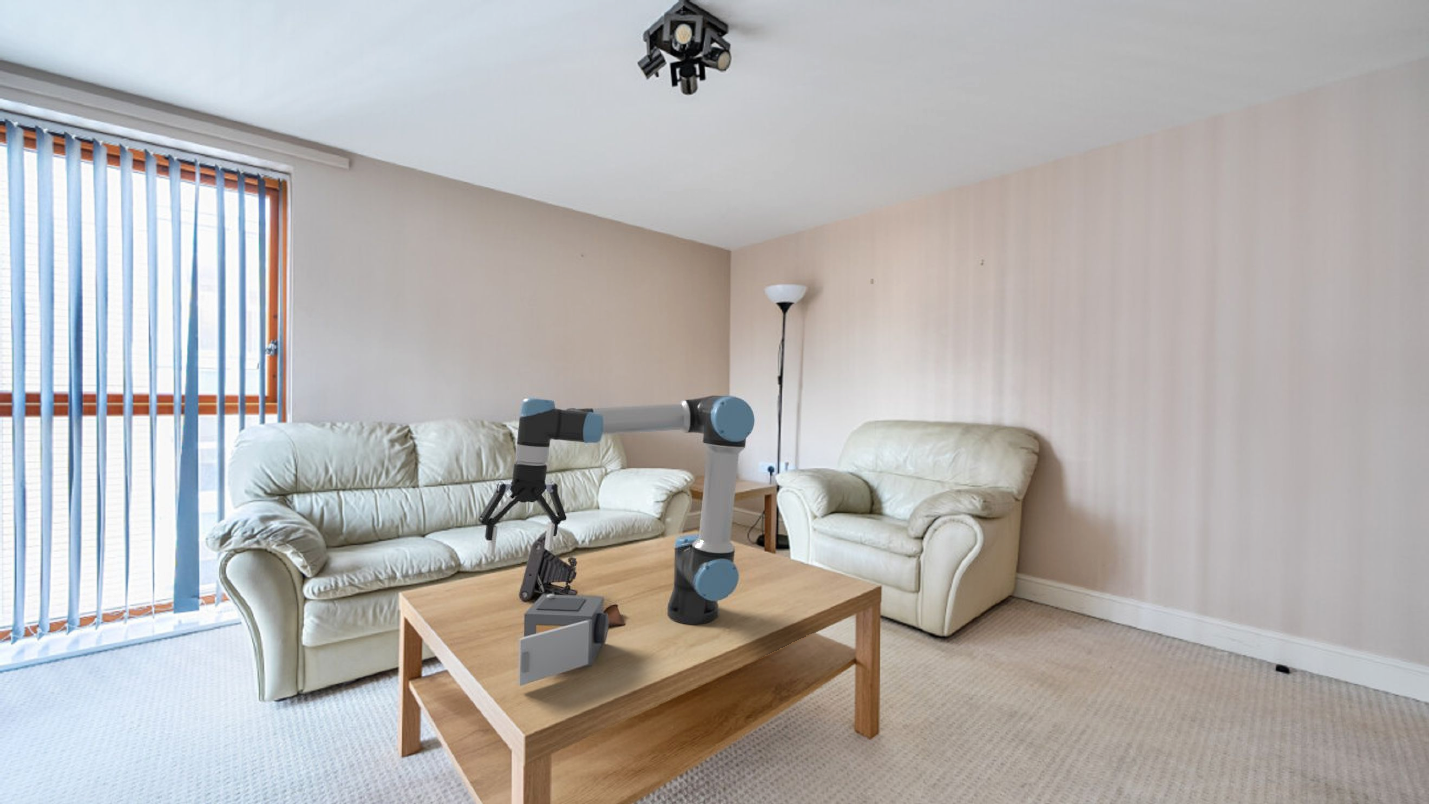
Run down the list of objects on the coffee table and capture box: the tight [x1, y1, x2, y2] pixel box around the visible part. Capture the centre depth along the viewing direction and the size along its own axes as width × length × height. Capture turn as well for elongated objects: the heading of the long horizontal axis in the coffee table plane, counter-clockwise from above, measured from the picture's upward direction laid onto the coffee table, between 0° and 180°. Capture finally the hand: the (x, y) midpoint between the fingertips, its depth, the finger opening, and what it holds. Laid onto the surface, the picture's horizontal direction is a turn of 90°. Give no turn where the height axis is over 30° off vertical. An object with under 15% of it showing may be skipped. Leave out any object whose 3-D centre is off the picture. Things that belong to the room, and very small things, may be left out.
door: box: [517, 619, 592, 687], centre depth 119 cm, size 17×2×10 cm, turn 128°
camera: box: [518, 530, 578, 602], centre depth 168 cm, size 11×17×20 cm, turn 89°
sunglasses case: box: [603, 603, 626, 629], centre depth 148 cm, size 18×7×7 cm
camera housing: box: [523, 593, 609, 668], centre depth 131 cm, size 18×12×13 cm
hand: (520, 551), depth 126 cm, fingers open, 13 cm apart
